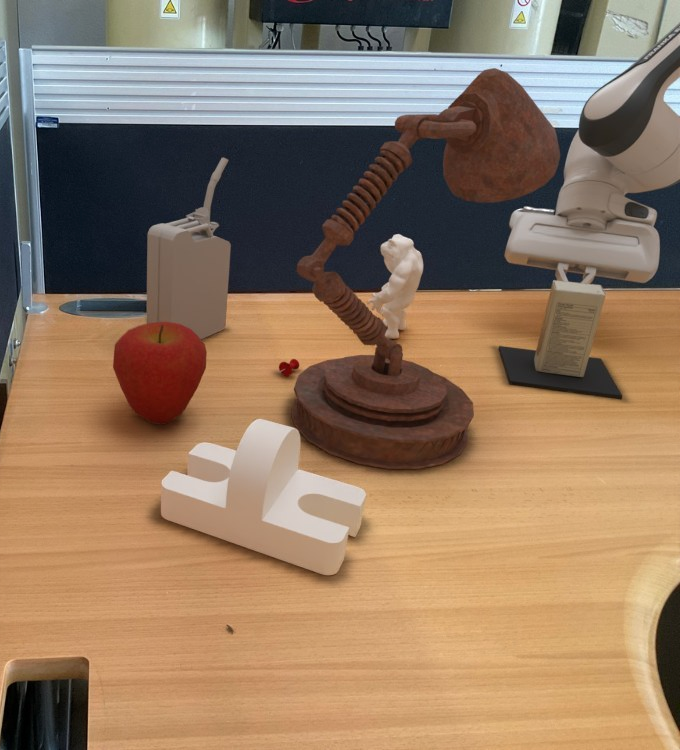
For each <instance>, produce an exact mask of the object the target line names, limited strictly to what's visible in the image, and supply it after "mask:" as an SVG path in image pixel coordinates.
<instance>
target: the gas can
mask: <svg viewBox="0 0 680 750" xmlns="http://www.w3.org/2000/svg"><path fill="white" fill-rule="evenodd" d="M228 163H229V159H228V158H225V157H221V159H220V160H219V162H218V163H217V166H216V168H215V170H214V171H213V172H212V174H211V177H210V180H209V182H208V184H207V188H206V192H205V197H204V201H203V207H199V208H195V209H194V210H195V211H193V212H192V213H189V214H186V215H185V216H186V217H185V218H181V219H178V220H175V221H170V222H167V223H157V224H154V225H152V226H151V227H149V229H148V232H147V242H146V243H147V246H146V247H147V248H146V252H147V256H146V315H145V316H146V319H145V320H146V322H145V324H149V323H155V322H172V323H177V324H181V325H183V326H185V327H187V328H189V329H191V330H192V331H193V332H194V333H195V334H196V335H197V336H198V337H199V338H200V339H201V340H204V339H205V338H208V337H210V336H212V335H215V334H216V333H219V332H221V331H223V330H224V329H225V327H226V324H227V311H228V296H229V295H228V294H229V293H228V292H229V278H230V266H231V265H230V264H231V263H230V262H231V250H232V249H231V247H232V245H231V243H230V241H228V240H225V239H224V238H221V237H218V236H216V235H214V232H215V230H216V229H217V228H218V227H220V224H219V223H218V222H215V221H211V206H212V203H213V198H214V193H215V188H216V186H217V184H218V182H219V181H220V179H221V177H222V174H223V172H224V170H225V168H226V166H227V164H228Z"/></svg>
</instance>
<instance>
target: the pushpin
mask: <svg viewBox="0 0 680 750" xmlns="http://www.w3.org/2000/svg"><path fill="white" fill-rule="evenodd" d="M299 368H300V362H299V360H298V359H296V358H291V360H290V361H289V362H286V361H281V362H280V363H279V365H278V370H279V371H278V373H280V374H281V375H283V376H285V377H289V376H291V374H292V373H293V370H298V369H299Z"/></svg>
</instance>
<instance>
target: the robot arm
mask: <svg viewBox="0 0 680 750" xmlns="http://www.w3.org/2000/svg"><path fill="white" fill-rule="evenodd" d="M679 78H680V22H678V23H677V24H676V25H675V26H674V27H673V28H672V29H671V30H670V31H668V32H667V33H666V34H664V36H662V38H661V39H659V40H658V41H657V42H656V43H655V44H653V45H652V46H651V47H650V48H649V49H648V50H647V51H645V53H643V54H642V55H641V56H640V57H639V58H638V59H637V60H636V61H634V63H632V64H631V65H630V66H629V67H628V68H627V69H625V70H624V71H622V72H621V73H620V74H618V75H617V76H615V77H614V78H612V79H611V80H609V81H608V82H606V83H605V84H603V85H602V86H601V87H599V88H598V89H597V90H595V92H593V93H592V94H591V95H590V96H589V98H588V99H587V100H586V101H585V103H584V105H583V107H582V109H581V112H580V115H579V121H578V130H577V131H576V133H575V135H574V136H573V138H572V141H571V143H570V145H569V148H568V152H567V154H566V155H567V156H566V159H565V164H564V167H563V185H562V186H561V187H560V190H559V192H558V197H557V201H556V205H555V209H551V208H540V207H539V208H538V207H537V208H536V207H533V206H523V208H518V209H515V210H514V211H513V212H512V213H511V215H510V218H509V222H508V226H509V229H510V230H511V231H510V234H509V236H508V240H507V243H506V246H505V251H504V254H503V257H504V258H505V260H506V261H507V263H509V264H514V265H521V266H528V267H535V268H539V269H540V268H541V269H548V270H554V271H555V273H554V276H555V278H556V281H566V282H569V280H568V277H567V272H568V273H574V274H581V275H582V280H581V282H580V283H585V284H592V282H593V281H594V279H595V277H601V278H608V279H612V280H613V279H614V280H621V281H628V282H634V283H640V284H645V283H647V282H648V281H650V280H652V279H653V277H654V276H655V274H656V273H657V271H658V268H659V263H660V251H661V249H660V248H661V245H660V242H661V239H660V234H659V232H658V230H657V229H656V228H655V227H654V226H655V225H656V224H655V223H656V221H657V218H658V212H657V210H656V209H655V208H653V207H650V206H648V205H645V204H642V203H640V202H637V201H635V200H632V199H630V198H628V197H626V195H627V194H631V195H633V194H634V195H635V194H641V193H642V194H643V193H648V192H653V191H658V190H662V189H666V188H669V187H672V186H674V185H676V184H678V183H680V115H679V114H678V113H677V112H675V110H674V109H672V108H671V106H670V105H669V104H668V103H667V102H665V99H664V98H665V94H666V93H667V90H668V89H669V87H670V86H672V85H673V84H674V83H675V82H676V81H677V80H679Z"/></svg>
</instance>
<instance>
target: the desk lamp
mask: <svg viewBox="0 0 680 750" xmlns="http://www.w3.org/2000/svg"><path fill="white" fill-rule="evenodd" d="M394 128H395V129H396V130H397V132H398V133H402V134H401V135H400V137H399V139H398V141H392V140H391V141H385V142H384V143H383V144H382V146H381V147H380V149H379V150H380V151H379V154H380V156H377V157H375V158H374V161H375V164H374V163H372V164H369V166H368V170H366V171H365V172H364V173H363V176H364V178H359V180H358V181H357V182H358V183H357V184H358V185H354V186H352V192H350V193H347V195H346V198H347V200H342V203H341V207H337V208H336V214H337V215H336V214H332V215H331V217H330V218H328V219H326V220H325V221H324V222H323V224H322V226H321V228H322V231H323V234H324V239H323V240H322V242H321V243H320V244H319V245H318V247H317V248H316V249H315V250H314V252H313V253H312V254H311V255H306V256H303V257H301V258H300V260H299V261H298V262H297V264H296V273H298V275H299V276H300V277H302V278H304V279H305V280H307V281H310V282H313V285H312V288H311V292H312V293H313V295H314V297H315V298H316V299H317V300H318V301H319V302H320V303H322V302H323V305H326V306H327V307H328V309H329V310H330V311H331V312H332V313H333V314H335V315H336V317H337V318H338V319H339V320H340V321H341V322H342V323H344V324H345V326H346V327H348V328H349V330H351V331H352V332H353V334H355V335H356V336H357V337H358V340H359V341H360V342H361V343H362V345H364V346H375V345H376V347H375V350H374V354H357V355H349V356H343V357H340V358H333V359H332V358H331V359H327V360H323V361H320V362H318V363H315V364H312V365H309V366H308V367H307V368H305V369H303V371H302V372H300V373H299V374H298V375H297V378H296V380H295V384H294V387H293V391H294V394H295V397H296V399H294V401H293V405H292V408H291V411H290V415H291V418H292V422H293V424H294V428H296V429H297V430H298V431H299V434H300V435H302V436H303V437H304V438H305V439H306V440H307V441H308V442H309V443H310V444H313V445H314V446H316V447H317V448H319V449H321V450H323V451H324V452H326V453H327V454H329V455H332V456H335V457H337V458H341V459H343V460H346V461H349V462H351V463H354V464H357V465H362V466H369V467H374V468H380V469H386V470H421V469H422V470H423V469H427V468H431V467H436V466H442V465H444V464H446V463H448V462H449V461H450V462H451V460H453V459H455V458H457V457H459V456H460V455H461V454H462V452H463V451H464V449H465V447H466V446H467V444H468V443H469V440H468V439H469V438H468V429H467V428H468V427H469V425H470V424H471V422H472V421H473V418H474V417H475V411H474V403H473V400H471V398H470V397H469V396H468V395H467V394H466V392H465V391H464V390H463V389H462V388H461V387H460V386H458V385H457V384H455V383H454V382H452V381H451V380H449V379H448V378H447V377H445V376H443V375H440V374H438V373H436V372H433V371H432V370H431V369H429V368H427V367H425V366H422V365H420V364H418V363H416V362H414V361H410V360H406V359H403V357H404V356H403V355H404V353H403V348H402V347H403V346H402V345H401V344H399V343H398V342H396V341H394V340H392V339H391V338H387V337H386V336H385V333H386V331H387V330H388V326H385V324H384V323H383V319H382V318H380V317H378V316H377V315H375V314H374V313H373V311H372V310H370V309H369V307H368V306H367V305H366V304H365V302H363V300H362V299H361V298H359V297H358V296H357V295H356V293H354V291H353V290H352V289H351V288H350V287H349V286H348V285H347V284H346V283H345V282H344V281H343V279H342V277H341V276H340V274H338V273H337V271H324V270H325V264H326V262H327V261H328V259H329V257H330V256H331V255H332V253H333V252H334V250H335V249H336V247H337V246H350V244H351V243H352V242H353V241H354V238H355V237H354V235H355V233H356V232H358V230H359V229H360V226H361V225H364V222H365V220H366V218H368V217H369V216H370V214H371V211H373V210H374V209H375V208H376V204H379V203H380V202H381V200H382V199H383V198H382V197H383V196H385V195H386V194H387V193H388V190H389V189H390V188H391V187H392V186H393V182H396V181H398V177H399V175H400V174H401V173H403V171H404V170H405V169H408V168H409V167H410V165H411V164H412V163H413V158H412V155H411V152H410V149H411V148H412V146H413V145H414V144H415V143H416V142H417V141H418V140H425V139H432V140H439V139H440V140H441V139H445V140H446V141H445V142H446V144H445V147H444V151H443V159H442V170H443V172H442V173H443V178H444V180H445V182H446V185H447V187H448V189H449V191H450V192H451V193H452V195H454V196H455V197H457V198H459V199H461V200H464V201H466V202H474V203H487V204H488V203H500V202H505V201H510V200H511V201H512V200H516V199H518V198H521V197H523V196H526V195H530V194H531V193H533V192H535V191H537V190H538V189H540V188H542V187H544V186H545V185H546V184H547V183H548V182H549V181H550V180H551V179H553V177H554V176H555V175H556V171H557V169H558V167H559V163H560V159H561V151H560V145H559V141H558V136H557V132H556V129H555V127H554V126H553V124H552V123H551V121H549V119H548V118H547V117H546V115H545V114H544V113H543V112H542V110H541V109H540V107H539V106H538V105H537V104H536V103H535V101H534V100H533V98H532V97H531V96H530V94H529V93H528V92H527V90H526V89H525V88H524V87H523V85H521V84H520V83H519V82H518V81H517V80H516V79H515V78H514V77H512V76H511V75H510V74H509V73H508V72H506V71H503V70H501V69H498V68H495V67H494V68H487V69H483V70H482V71H481V72H480V73H479V74H478V75H477V76H476V77H475V78H474V79H473V80H472V81H471V82H470V84H468V86H467V87H466V88H465V89H464V90H463V91H462V93H461V94H459V96H457V98H456V99H454V101H453V102H451V104H450V105H448V107H447V108H445V109H443V110H442V111H441V112H439V113H438V114H433V113H422V114H419V113H418V114H404V115H400V116H398V117H396V119H395V121H394Z"/></svg>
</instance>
